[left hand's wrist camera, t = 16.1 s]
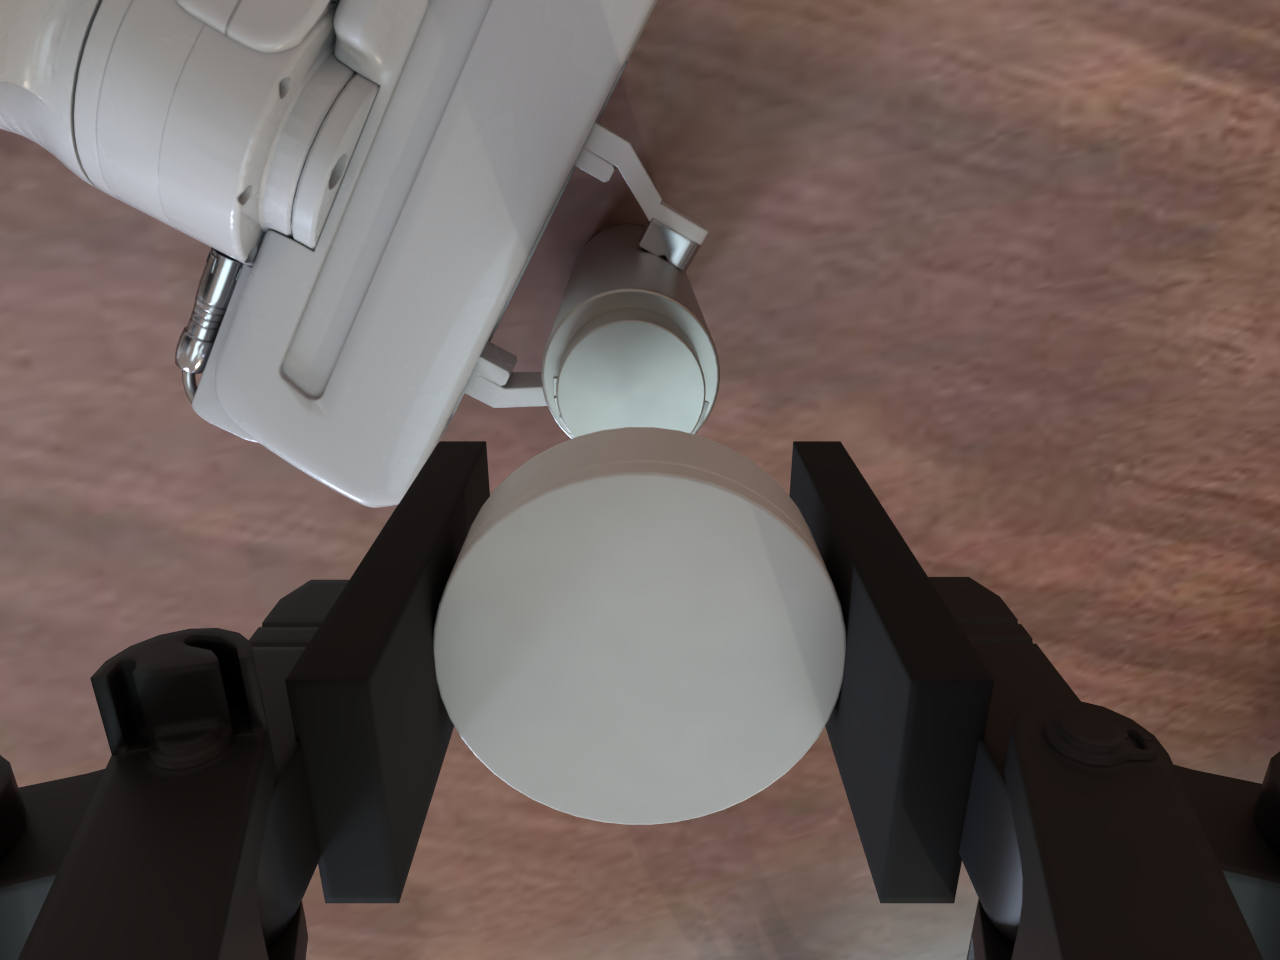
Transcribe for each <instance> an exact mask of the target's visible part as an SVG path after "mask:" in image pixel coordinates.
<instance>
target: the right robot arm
mask: <svg viewBox="0 0 1280 960" xmlns="http://www.w3.org/2000/svg"><path fill="white" fill-rule="evenodd" d="M657 2H658V0H0V129H2V130H6V131H10V132H13V133H16V134H19V135H22V136H24V137H26V138H28V139H30V140H32V141H34V142H36V143H37V144H39V145H41V146H42V147H44V148H45V149H47V150H48V151H49V152H50V153H52V154H53V155H54V156H55V157H57V158H58V159H59V160H60V161H61V162H62V163H63V164H64V165H65V166H66V167H68V168H69V169H70V170H71V171H72V172H73V173H74V174H76V175H77V176H78V177H79V178H81V179H82V180H84V181H85V182H87V183H89V184H90V185H92V186H94V187H95V188H97V189H99V190H101V191H102V192H105V193H106V194H108V195H110V196H112V197H114V198H116V199H118V200H120V201H122V202H124V203H126V204H128V205H130V206H132V207H134V208H136V209H138V210H140V211H142V212H144V213H146V214H148V215H150V216H152V217H153V218H155V219H157V220H159V221H161V222H163V223H165V224H167V225H169V226H171V227H173V228H175V229H177V230H179V231H181V232H183V233H185V234H187V235H189V236H191V237H193V238H195V239H196V240H198V241H200V242H202V243H204V244H206V245H208V246H210V247H211V251H210V253H209V255H208V258H207V261H206V265H205V268H204V271H203V273H202V276H201V279H200V282H199V285H198V289H197V293H196V298H195V303H194V307H193V311H192V314H191V318H190V320H189V323H188V326H187V327H185V328H184V330H183V331H182V333H181V336H180V338H179V341H178V344H177V348H176V353H175V364H176V365H177V366H178V367H179V368H180V369H182V379H183V385H184V389H185V392H186V395H187V397H188V398H189V400H190V402H191V403H192V407H193V409H194V411H195V412H196V413H197V414H198V415H199V416H200V417H202V418H203V419H205V420H206V421H208V422H209V423H211V424H213V425H215V426H217V427H220V428H222V429H224V430H226V431H228V432H230V433H232V434H234V435H236V436H239V437H241V438H243V439H245V440H248V441H252V442H259V443H260V444H262V445H263V446H265V447H266V448H268V449H269V450H270V451H272V452H273V453H275V454H276V455H278V456H279V457H281V458H282V459H284V460H285V461H287V462H289V463H290V464H292V465H293V466H295V467H296V468H298V469H300V470H301V471H303V472H304V473H306V474H308V475H309V476H311V477H313V478H314V479H316V480H318V481H319V482H321V483H323V484H325V485H326V486H328V487H330V488H332V489H333V490H335V491H337V492H339V493H341V494H343V495H344V496H346V497H348V498H350V499H352V500H354V501H356V502H358V503H360V504H362V505H365V506H368V507H373V508H379V507H386V506H393V505H398V504H399V503H400V501H401V500H402V498H403V497H404V495H405V494H406V492H407V490H408V489H409V487H410V486H411V484H412V483H413V481H414V480H415V478H416V476H417V475H418V473H419V472H420V470H421V469H422V467H423V466H424V464H425V463H426V461H427V459H428V458H429V456H430V455H431V453H432V452H433V450H434V449H435V447H436V446H437V444H438V442H441V440H442V438H443V436H444V434H445V432H446V430H447V428H448V426H449V424H450V422H451V420H452V418H453V416H454V414H455V412H456V410H457V407H458V405H459V403H460V401H461V399H462V397H463V395H464V393H466V394H468V395H470V396H472V397H474V398H476V399H478V400H480V401H482V402H484V403H486V404H488V405H490V406H491V407H493V408H502V407H528V406H547V403H546V401H545V397H544V393H543V389H542V380H541V372H512V370H513V368H514V366H515V364H516V362H517V358H516V356H515V355H513V354H511V353H509V352H507V351H506V350H504V349H502V348H500V347H498V346H496V345H494V344H493V343H491V342H490V341H491V339H492V337H493V334H494V332H495V330H496V328H497V326H498V324H499V322H500V320H501V318H502V316H503V314H504V312H505V310H506V308H507V306H508V304H509V302H510V300H511V298H512V296H513V294H514V292H515V290H516V288H517V286H518V284H519V282H520V280H521V278H522V276H523V274H524V272H525V270H526V268H527V266H528V264H529V261H530V259H531V257H532V255H533V253H534V251H535V249H536V247H537V245H538V243H539V241H540V239H541V237H542V235H543V233H544V231H545V229H546V227H547V225H548V223H549V221H550V219H551V217H552V215H553V213H554V211H555V209H556V207H557V205H558V203H559V201H560V199H561V197H562V195H563V193H564V191H565V189H566V186H567V184H568V182H569V180H570V178H571V176H572V174H573V172H574V170H575V168H576V167H577V168H579V169H581V170H583V171H585V172H586V173H588V174H590V175H592V176H593V177H595V178H597V179H599V180H601V181H602V182H607V181H609V180H610V178H611V176H612V174H613V172H614V170H615V166H616V167H618V169H619V171H620V172H621V174H622V176H623V178H624V179H625V181H626V183H627V184H628V186H629V188H630V189H631V191H632V193H633V194H634V196H635V198H636V200H637V201H638V203H639V205H640V206H641V208H642V210H643V211H644V213H645V215H646V216H647V218H648V221H647V223H646V225H645V227H644V229H643V231H642V233H641V235H640V237H639V239H638V242H639V246H640V247H642V248H644V249H645V250H647V251H649V252H651V253H652V254H655V255H657V256H661V255H665V256H666V258H667V260H668V262H669V263H671V264H672V265H674V266H675V267H677V268H679V269H681V270H684V271H686V270H687V268H688V266H689V265H690V263H691V261H692V260H693V258H694V256H695V254H696V253H697V251H698V249H699V248H700V246H701V244H702V242H703V240H704V239H705V237H706V235H707V233H708V232H709V231H708V230H707V228H706V227H704V226H703V225H701V224H700V223H699V222H697V221H695V220H694V219H692V218H690V217H689V216H687V215H685V214H683V213H682V212H680V211H678V210H676V209H675V208H673V207H671V206H670V205H668V204H666V203H664V202H663V201H662V198H661V196H660V194H659V192H658V190H657V189H656V187H655V185H654V183H653V182H652V180H651V178H650V176H649V175H648V173H647V171H646V170H645V168H644V166H643V164H642V163H641V161H640V159H639V157H638V156H637V154H636V152H635V150H634V149H633V147H632V145H631V143H630V142H629V141H628V140H626V139H624V138H622V137H621V136H619V135H617V134H616V133H614V132H612V131H611V130H609V129H607V128H606V127H604V126H602V125H601V124H599V123H598V122H599V120H600V118H601V116H602V113H603V111H604V109H605V107H606V105H607V103H608V101H609V99H610V97H611V95H612V93H613V91H614V89H615V87H616V85H617V83H618V81H619V79H620V77H621V75H622V73H623V71H624V69H625V67H626V65H627V63H628V61H629V59H630V57H631V55H632V53H633V51H634V49H635V47H636V45H637V43H638V40H639V38H640V36H641V34H642V32H643V30H644V28H645V26H646V24H647V22H648V20H649V18H650V16H651V14H652V12H653V10H654V8H655V6H656V4H657ZM199 373H203V374H202V377H201V379H200V382H199V385H198V387H197V384H196V379H195V375H196V374H199Z"/></svg>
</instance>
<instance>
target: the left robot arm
mask: <svg viewBox="0 0 1280 960" xmlns="http://www.w3.org/2000/svg"><path fill="white" fill-rule="evenodd" d="M489 497H490V491H489V477H488V463H487V449H486V442H438V444H437V446H436V447H435V449H434V450H433V452H432V453H431V455H430V456H429V458H428V459H427V461H426V463H425V464H424V466H423V467H422V469H421V470H420V472H419V473H418V475H417V476H416V478H415V480H414V481H413V483H412V484H411V486H410V487H409V489H408V490H407V492H406V494H405V495H404V497H403V498H402V500H401V501H400V503H399V504H398V506H397V507H396V509H395V511H394V512H393V514H392V515H391V517H390V518H389V520H388V521H387V523H386V524H385V526H384V528H383V529H382V531H381V532H380V534H379V535H378V537H377V538H376V540H375V542H374V543H373V545H372V546H371V548H370V549H369V551H368V552H367V554H366V555H365V557H364V559H363V560H362V562H361V563H360V565H359V566H358V568H357V569H356V571H355V572H354V574H353V576H352V577H351V579H350V580H310V581H308V582H307V583H305V584H304V585H302V586H301V587H299V588H298V589H296V590H294V591H293V592H291V593H290V594H288V595H287V596H285V597H283V598H282V599H280V600H279V602H278V603H277V604H276V606H275V607H274V608H273V609H272V611H271V612H270V613H269V615H268V616H267V617H266V619H265V620H264V621H263V623H262V627H259V628H258V629H257V630H256V632H255V633H254V634H253V636H252V637H251V638H250V639H249V640H247V639H246V638H245V637H243V636H242V635H241V634H240V633H237V632H233V631H228V630H224V629H219V628H203V629H187V630H182V631H177V632H172V633H167V634H163V635H158V636H156V637H153V638H151V639H148V640H145V641H143V642H140V643H138V644H135V645H132V646H130V647H128V648H127V649H125V650H123V651H122V652H120V653H118V654H117V655H115V656H114V657H112V658H110V659H109V660H107V661H106V662H105V663H104V664H103V665H102V666H101V667H100V668H99V669H98V670H97V671H96V673H95V674H94V675H93V676H92V677H91V678H90V679H91V682H92V686H93V689H94V693H95V696H96V700H97V703H98V707H99V711H100V714H101V718H102V721H103V725H104V728H105V732H106V736H107V739H108V743H109V746H110V750H111V753H112V756H111V758H110V760H109V763H108V765H107V767H106V769H103V770H99V771H95V772H91V773H88V774H83V775H78V776H73V777H69V778H64V779H59V780H54V781H49V782H44V783H39V784H35V785H30V786H25V787H20V788H18V786H17V783H16V780H15V777H14V774H13V771H12V768H11V765H10V762H8V761H7V760H6V759H4V758H3V757H2V756H1V755H0V960H305V959H306V950H307V942H308V934H307V927H306V920H305V914H304V909H303V904H302V898H303V896H304V894H305V891H306V889H307V887H308V885H309V882H310V880H311V878H312V875H313V873H314V871H315V869H316V866H317V864H318V865H319V871H320V876H321V882H322V887H323V893H324V898H325V903H399V901H400V898H401V895H402V892H403V888H404V885H405V882H406V879H407V876H408V872H409V869H410V866H411V863H412V860H413V856H414V853H415V850H416V847H417V844H418V840H419V837H420V834H421V831H422V827H423V824H424V821H425V818H426V815H427V811H428V808H429V805H430V802H431V799H432V795H433V792H434V789H435V786H436V783H437V779H438V776H439V773H440V770H441V766H442V763H443V760H444V757H445V754H446V750H447V747H448V744H449V741H450V738H451V734H452V731H453V728H454V724H453V723H452V721H451V719H450V717H449V715H448V713H447V710H446V708H445V705H444V703H443V701H442V698H441V696H440V692H439V688H438V684H437V679H436V669H435V660H434V650H433V635H434V625H435V620H436V615H437V611H438V606H439V602H440V600H441V597H442V595H443V592H444V589H445V587H446V584H447V582H448V579H449V577H450V574H451V572H452V570H453V567H454V565H455V563H456V560H457V558H458V556H459V553H460V551H461V549H462V546H463V544H464V541H465V539H466V537H467V534H468V532H469V530H470V527H471V525H472V523H473V522H474V520H475V518H476V516H477V515H478V513H479V511H480V509H481V508H482V506H483V505H484V503H485V502H486V501H487V499H488V498H489ZM790 498H791V499H792V500H793V502H794V503H795V504H796V506H797V507H798V508H799V510H800V512H801V514H802V516H803V518H804V519H805V521H806V523H807V525H808V527H809V529H810V531H811V533H812V536H813V538H814V540H815V543H816V545H817V547H818V550H819V552H820V554H821V557H822V559H823V561H824V564H825V566H826V568H827V571H828V573H829V575H830V578H831V580H832V582H833V585H834V588H835V590H836V593H837V596H838V598H839V601H840V604H841V607H842V612H843V617H844V622H845V627H846V653H845V663H844V672H843V681H842V685H841V689H840V693H839V697H838V699H837V702H836V704H835V706H834V709H833V711H832V713H831V716H830V718H829V720H828V722H827V723H826V725H825V727H826V730H827V733H828V736H829V739H830V743H831V746H832V749H833V752H834V755H835V759H836V762H837V765H838V768H839V771H840V775H841V778H842V781H843V784H844V788H845V791H846V794H847V797H848V800H849V804H850V807H851V810H852V813H853V816H854V820H855V823H856V826H857V829H858V832H859V836H860V839H861V842H862V845H863V849H864V852H865V855H866V858H867V861H868V865H869V868H870V871H871V874H872V877H873V881H874V884H875V887H876V890H877V894H878V897H879V900H880V903H954V901H955V895H956V890H957V884H958V879H959V873H960V868H961V862H962V861H963V863H964V865H965V868H966V870H967V872H968V875H969V877H970V879H971V881H972V884H973V886H974V888H975V890H976V893H977V895H978V897H979V899H978V904H977V909H976V914H975V920H974V925H973V930H972V935H971V940H970V945H969V950H968V956H967V960H1280V752H1279V753H1277V754H1276V755H1275V756H1274V757H1272V758H1271V760H1270V763H1269V766H1268V769H1267V772H1266V775H1265V778H1264V781H1263V784H1259V783H1254V782H1250V781H1245V780H1240V779H1235V778H1230V777H1225V776H1220V775H1215V774H1211V773H1206V772H1201V771H1196V770H1192V769H1188V768H1184V767H1180V766H1177V765H1173V763H1172V761H1171V759H1170V757H1169V754H1168V753H1167V752H1166V750H1165V749H1164V748H1163V746H1162V745H1161V744H1160V743H1159V741H1158V740H1157V739H1156V737H1155V736H1154V735H1153V734H1151V733H1150V732H1148V731H1147V730H1146V729H1144V728H1143V727H1142V726H1140V725H1139V724H1137V723H1136V722H1135V721H1133V720H1132V719H1130V718H1127V717H1125V716H1123V715H1121V714H1118V713H1116V712H1114V711H1112V710H1109V709H1107V708H1105V707H1102V706H1098V705H1094V704H1089V703H1085V702H1081V701H1080V700H1079V698H1078V697H1077V696H1076V695H1075V693H1074V692H1073V691H1072V689H1071V688H1070V687H1069V686H1068V684H1067V683H1066V682H1065V680H1064V679H1063V678H1062V676H1061V675H1060V674H1059V673H1058V671H1057V670H1056V669H1055V667H1054V666H1053V665H1052V664H1051V662H1050V661H1049V660H1048V658H1047V657H1046V656H1045V655H1044V653H1043V652H1042V651H1041V649H1040V648H1039V647H1038V645H1037V644H1033V643H1032V638H1031V636H1030V635H1029V634H1028V633H1027V631H1026V630H1025V629H1024V627H1023V626H1022V625H1021V624H1018V622H1017V621H1018V620H1017V618H1016V617H1015V616H1014V614H1013V613H1012V612H1011V611H1010V609H1009V608H1008V607H1007V605H1006V604H1005V603H1004V601H1003V600H1002V599H1001V598H1000V597H999V596H998V595H996V594H995V593H993V592H992V591H990V590H988V589H987V588H985V587H984V586H982V585H981V584H979V583H977V582H976V581H974V580H973V579H971V578H970V577H927V575H926V573H925V572H924V570H923V569H922V567H921V566H920V564H919V563H918V561H917V560H916V558H915V556H914V555H913V553H912V552H911V550H910V549H909V547H908V546H907V544H906V542H905V541H904V539H903V538H902V536H901V535H900V533H899V532H898V530H897V529H896V527H895V525H894V524H893V522H892V521H891V519H890V518H889V516H888V515H887V513H886V511H885V510H884V508H883V507H882V505H881V504H880V502H879V501H878V499H877V498H876V496H875V494H874V493H873V491H872V490H871V488H870V487H869V485H868V484H867V482H866V480H865V479H864V477H863V476H862V474H861V473H860V471H859V470H858V468H857V467H856V465H855V463H854V462H853V460H852V459H851V457H850V456H849V454H848V453H847V451H846V450H845V448H844V446H843V445H842V443H841V442H793V455H792V469H791V483H790Z"/></svg>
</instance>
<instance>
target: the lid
mask: <svg viewBox="0 0 1280 960" xmlns="http://www.w3.org/2000/svg"><path fill="white" fill-rule="evenodd" d="M433 650H434V660H435V669H436V679H437V684H438V688H439V692H440V696H441V698H442V701H443V703H444V705H445V708H446V710H447V713H448V715H449V717H450V719H451V721H452V723H453V724H454V726H455V728H456V729H457V731H458V733H459V735H460V736H461V738H462V739H463V740H464V742H465V743H466V744H467V745H468V747H469V748H470V749H471V751H472V752H473V753H474V754H475V756H476V757H477V758H478V759H479V760H480V761H481V762H482V763H483V764H485V765H486V766H487V767H488V768H489V769H490V770H491V771H492V772H493V773H494V774H495V775H497V776H498V777H499V778H501V779H502V780H503V781H505V782H506V783H507V784H508V785H510V786H511V787H513V788H514V789H516V790H518V791H519V792H521V793H523V794H524V795H526V796H528V797H530V798H531V799H533V800H535V801H538V802H540V803H542V804H544V805H546V806H549V807H551V808H553V809H556V810H559V811H562V812H565V813H568V814H571V815H574V816H577V817H582V818H586V819H591V820H596V821H601V822H609V823H618V824H661V823H671V822H678V821H683V820H688V819H693V818H698V817H702V816H705V815H708V814H711V813H714V812H717V811H721V810H724V809H726V808H728V807H730V806H733V805H735V804H737V803H740V802H742V801H744V800H746V799H748V798H750V797H751V796H753V795H755V794H756V793H758V792H760V791H762V790H763V789H765V788H767V787H768V786H769V785H771V784H772V783H773V782H775V781H776V780H777V779H779V778H780V777H781V776H783V775H784V774H785V773H786V772H787V771H788V770H790V769H791V768H792V767H793V766H794V765H795V764H796V763H797V762H798V761H799V760H800V759H801V758H802V757H803V756H804V755H805V753H806V752H807V751H808V750H809V748H810V747H811V746H812V745H813V743H814V742H815V741H816V740H817V738H818V737H819V735H820V733H821V732H822V730H823V728H824V727H825V725H826V723H827V722H828V720H829V718H830V716H831V713H832V711H833V709H834V706H835V704H836V702H837V699H838V697H839V693H840V689H841V685H842V681H843V672H844V663H845V653H846V627H845V622H844V617H843V612H842V607H841V604H840V601H839V598H838V596H837V593H836V590H835V588H834V585H833V582H832V580H831V578H830V575H829V573H828V571H827V568H826V566H825V564H824V561H823V559H822V557H821V554H820V552H819V550H818V547H817V545H816V543H815V540H814V538H813V536H812V533H811V531H810V529H809V527H808V525H807V523H806V521H805V519H804V518H803V516H802V514H801V512H800V510H799V508H798V507H797V506H796V504H795V503H794V502H793V500H792V499H791V498H790V496H789V495H788V494H787V492H786V491H785V490H784V489H783V488H782V487H781V486H780V485H779V484H778V483H777V482H776V481H775V480H774V479H773V478H772V477H771V476H770V475H769V474H768V473H767V472H766V471H764V470H763V469H762V468H760V467H759V466H758V465H756V464H755V463H754V462H752V461H751V460H750V459H748V458H747V457H745V456H743V455H741V454H740V453H738V452H736V451H734V450H732V449H731V448H729V447H727V446H725V445H722V444H720V443H717V442H715V441H712V440H710V439H707V438H705V437H701V436H698V435H694V434H690V433H686V432H682V431H678V430H670V429H662V428H655V427H626V428H617V429H609V430H602V431H598V432H594V433H590V434H586V435H582V436H578V437H575V438H572V439H570V440H567V441H565V442H562V443H560V444H557V445H554V446H553V447H551V448H549V449H547V450H545V451H543V452H542V453H540V454H538V455H536V456H534V457H533V458H531V459H530V460H528V461H527V462H526V463H524V464H523V465H522V466H520V467H519V468H518V469H516V470H515V471H514V472H512V473H511V474H510V475H509V476H508V477H507V478H506V479H505V480H504V481H503V482H502V483H501V484H500V485H499V486H498V487H497V488H496V489H495V490H494V492H493V493H492V494H491V496H490V497H489V498H488V499H487V501H486V502H485V503H484V505H483V506H482V508H481V509H480V511H479V513H478V515H477V516H476V518H475V520H474V522H473V523H472V525H471V527H470V530H469V532H468V534H467V537H466V539H465V541H464V544H463V546H462V549H461V551H460V553H459V556H458V558H457V560H456V563H455V565H454V567H453V570H452V572H451V574H450V577H449V579H448V582H447V584H446V587H445V589H444V592H443V595H442V597H441V600H440V602H439V606H438V611H437V615H436V620H435V625H434V635H433Z"/></svg>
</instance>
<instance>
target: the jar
mask: <svg viewBox="0 0 1280 960" xmlns="http://www.w3.org/2000/svg"><path fill="white" fill-rule="evenodd" d="M644 227H645V226H641V225H637V224H621V225H616V226H612V227H609V228H607V229H605V230H603V231H601V232H599V233H598V234H596V235H595V236H594V237H593V238H591V239H590V240H589V241H588V242H587V244H586V245H585V246H584V247H583V249H582V251H581V252H580V254H579V256H578V258H577V261H576V264H575V266H574V269H573V272H572V275H571V278H570V280H569V283H568V286H567V289H566V292H565V294H564V297H563V300H562V303H561V306H560V309H559V311H558V314H557V317H556V320H555V323H554V325H553V328H552V331H551V334H550V337H549V339H548V342H547V345H546V348H545V352H544V355H543V361H542V370H541V380H542V389H543V393H544V397H545V401H546V403H547V406H548V408H549V411H550V413H551V414H552V416H553V418H554V420H555V421H556V423H557V424H558V425H559V427H560V428H561V429H562V430H563V431H564V432H565V433H566V435H567V436H568V437H569V438H571V439H572V438H575V437H578V436H582V435H586V434H590V433H594V432H598V431H602V430H609V429H617V428H626V427H655V428H662V429H670V430H678V431H682V432H686V433H690V434H694V435H695V434H696V433H697V432H698V431H699V429H700V428H701V427H702V425H703V424H704V423H705V421H706V420H707V418H708V416H709V415H710V413H711V411H712V409H713V406H714V404H715V401H716V397H717V394H718V390H719V381H720V366H719V360H718V355H717V351H716V348H715V345H714V342H713V340H712V337H711V335H710V332H709V330H708V327H707V325H706V322H705V320H704V317H703V315H702V312H701V309H700V307H699V304H698V302H697V299H696V297H695V294H694V292H693V289H692V287H691V284H690V282H689V279H688V277H687V274H686V272H685V271H684V270H681V269H679V268H677V267H675V266H674V265H672V264H671V263H669V262H668V260H667V258H666V256H665V255H661V256H657V255H655V254H652V253H651V252H649V251H647V250H645V249H644V248H642V247H640V246H639V242H638V239H639V237H640V235H641V233H642V231H643V229H644Z"/></svg>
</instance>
